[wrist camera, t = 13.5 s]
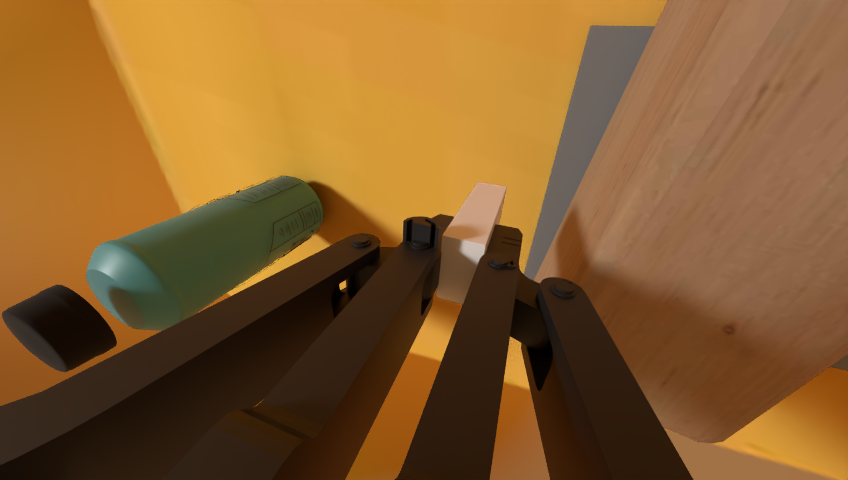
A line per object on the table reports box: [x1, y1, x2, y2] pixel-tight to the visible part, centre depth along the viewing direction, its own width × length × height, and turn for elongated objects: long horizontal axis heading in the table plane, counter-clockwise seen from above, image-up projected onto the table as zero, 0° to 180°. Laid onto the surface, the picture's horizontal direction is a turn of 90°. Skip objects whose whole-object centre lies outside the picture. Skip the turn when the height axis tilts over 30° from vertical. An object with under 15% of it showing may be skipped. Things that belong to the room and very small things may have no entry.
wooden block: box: [534, 0, 848, 443], centre depth 15 cm, size 10×10×20 cm
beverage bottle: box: [2, 176, 323, 372], centre depth 22 cm, size 6×7×20 cm
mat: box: [524, 26, 848, 371], centre depth 19 cm, size 19×22×1 cm
